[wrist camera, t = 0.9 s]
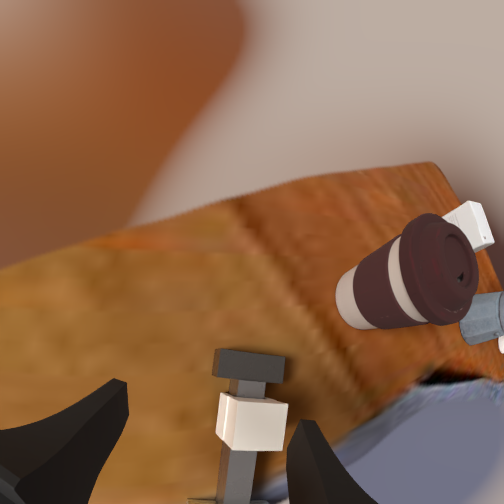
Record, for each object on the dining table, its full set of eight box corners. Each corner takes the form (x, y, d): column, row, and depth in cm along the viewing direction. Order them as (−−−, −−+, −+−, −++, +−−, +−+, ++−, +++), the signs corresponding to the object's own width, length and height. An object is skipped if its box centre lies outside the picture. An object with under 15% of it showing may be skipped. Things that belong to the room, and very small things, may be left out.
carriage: (259, 435, 24) (283, 450, 19) (215, 432, 23) (230, 449, 18) (264, 396, 26) (289, 404, 21) (220, 392, 25) (236, 400, 20)
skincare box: (435, 271, 40) (495, 244, 29) (419, 273, 38) (484, 245, 28) (424, 234, 42) (481, 202, 31) (408, 234, 40) (468, 199, 30)
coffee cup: (325, 251, 34) (417, 188, 21) (388, 269, 37) (478, 224, 23) (320, 336, 30) (429, 311, 17) (387, 344, 33) (490, 323, 19)
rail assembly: (264, 517, 21) (287, 542, 16) (185, 517, 19) (194, 547, 14) (286, 358, 28) (316, 357, 23) (204, 347, 26) (217, 345, 21)
